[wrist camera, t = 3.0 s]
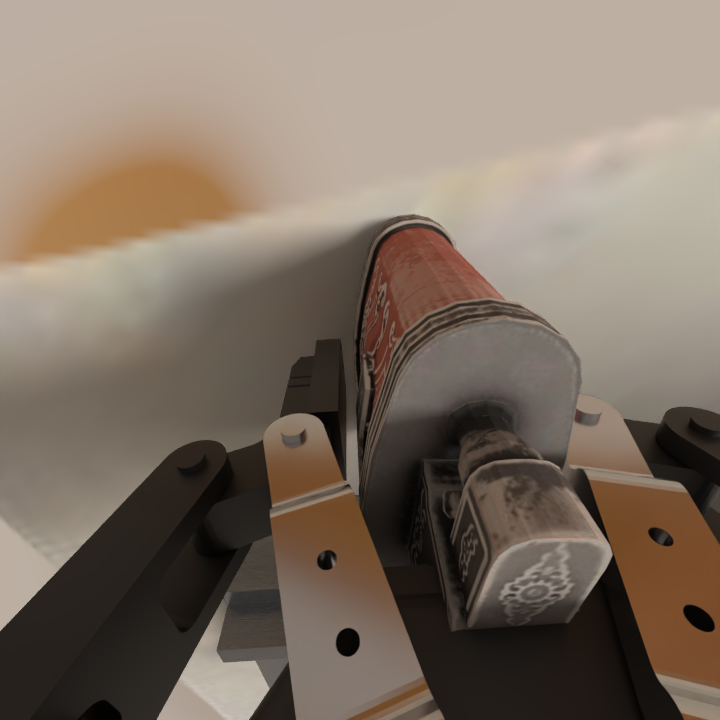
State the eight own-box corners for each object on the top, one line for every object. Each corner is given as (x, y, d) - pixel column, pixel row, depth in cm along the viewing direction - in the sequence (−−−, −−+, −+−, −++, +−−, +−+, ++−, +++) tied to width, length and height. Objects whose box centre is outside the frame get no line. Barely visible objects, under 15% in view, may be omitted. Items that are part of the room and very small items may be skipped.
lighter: (356, 212, 11) (397, 483, 2) (469, 216, 11) (894, 483, 2) (350, 420, 15) (356, 792, 6) (431, 421, 15) (542, 785, 7)
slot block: (517, 484, 17) (581, 613, 13) (483, 631, 25) (514, 744, 20) (245, 503, 17) (208, 638, 13) (295, 644, 25) (283, 760, 21)
